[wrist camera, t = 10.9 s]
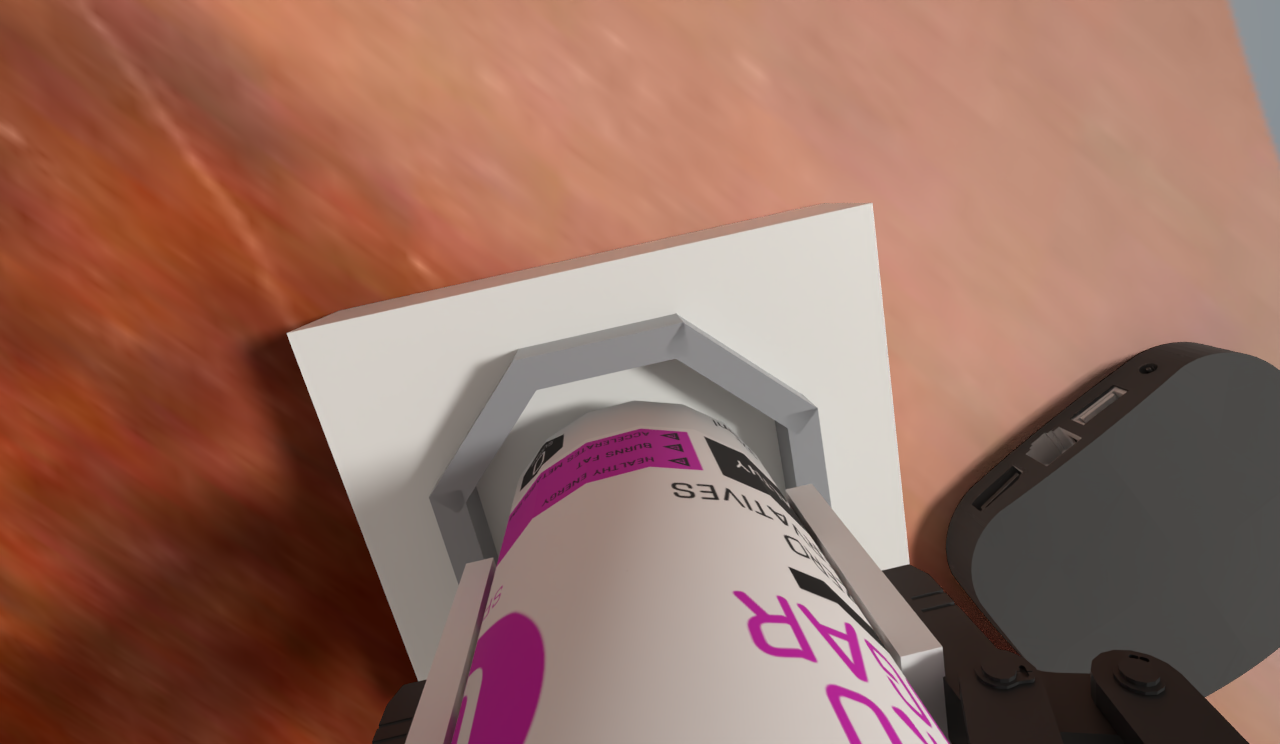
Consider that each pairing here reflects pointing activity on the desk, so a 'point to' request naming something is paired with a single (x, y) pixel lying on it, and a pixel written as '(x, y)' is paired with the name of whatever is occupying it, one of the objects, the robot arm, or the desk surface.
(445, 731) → the robot arm
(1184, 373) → the media streaming box
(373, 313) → the mount base
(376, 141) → the desk surface
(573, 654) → the supplement can
